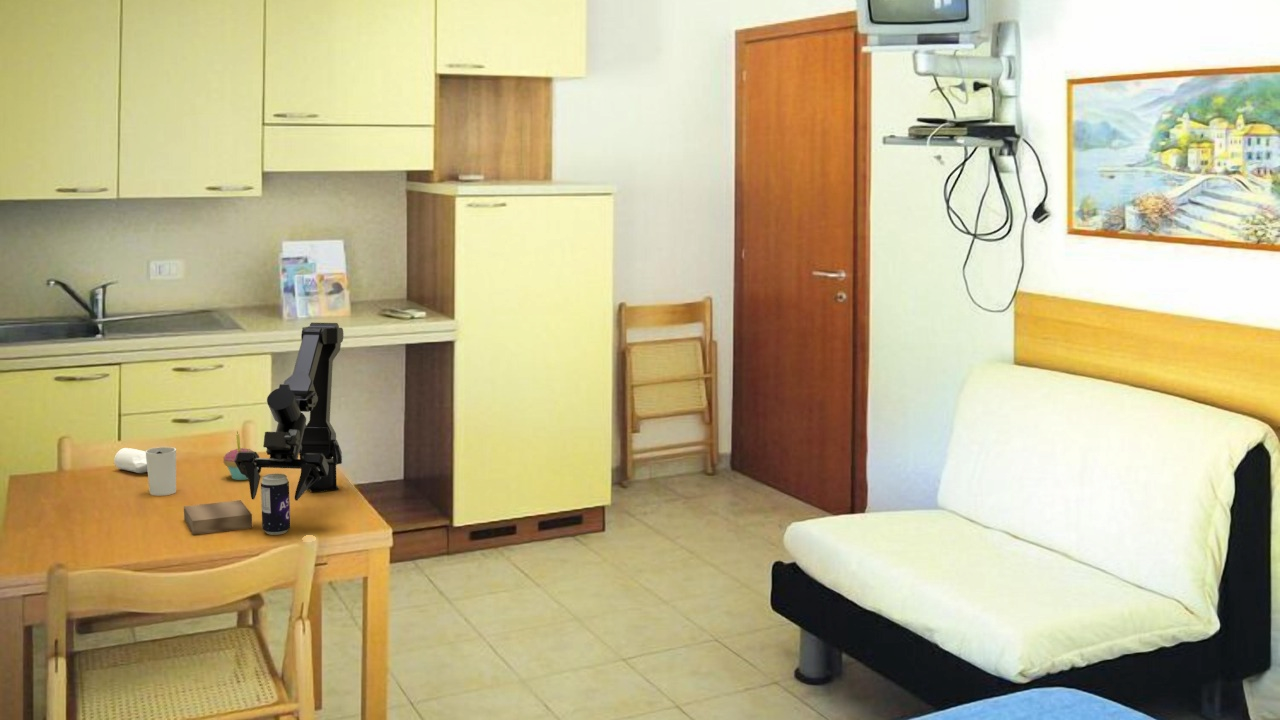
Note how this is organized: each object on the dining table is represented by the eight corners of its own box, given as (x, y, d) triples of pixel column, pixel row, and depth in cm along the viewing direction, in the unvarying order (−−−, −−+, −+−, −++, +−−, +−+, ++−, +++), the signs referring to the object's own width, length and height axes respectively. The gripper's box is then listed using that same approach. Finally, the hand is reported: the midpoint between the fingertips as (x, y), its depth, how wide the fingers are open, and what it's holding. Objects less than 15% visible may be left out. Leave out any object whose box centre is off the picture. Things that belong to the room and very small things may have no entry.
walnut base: (241, 513, 291) (240, 500, 291) (252, 527, 281) (251, 514, 280) (184, 519, 286) (183, 506, 285) (193, 535, 275) (192, 521, 275)
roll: (144, 479, 319) (143, 456, 318) (114, 471, 325) (113, 449, 325) (165, 474, 324) (164, 451, 323) (135, 466, 330) (134, 444, 329)
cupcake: (254, 482, 317) (252, 433, 315) (218, 481, 317) (216, 432, 315) (264, 473, 325) (262, 425, 323) (230, 472, 325) (228, 425, 323)
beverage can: (282, 536, 275) (280, 480, 273) (257, 534, 276) (255, 479, 274) (295, 529, 280) (293, 474, 278) (270, 527, 281) (268, 472, 279)
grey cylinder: (141, 494, 305) (139, 452, 303) (161, 487, 311) (159, 445, 310) (164, 497, 303) (162, 454, 301) (184, 490, 309) (182, 448, 307)
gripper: (236, 414, 279) (219, 478, 270) (323, 416, 278) (309, 480, 269) (250, 442, 288) (234, 505, 279) (334, 444, 287) (321, 507, 278)
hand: (274, 499), depth 276 cm, fingers open, 9 cm apart
